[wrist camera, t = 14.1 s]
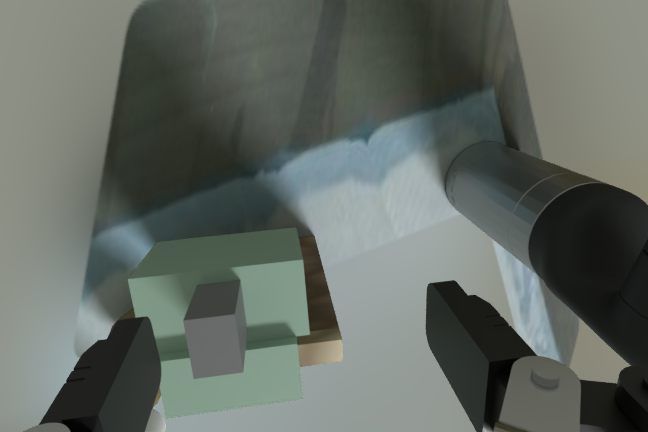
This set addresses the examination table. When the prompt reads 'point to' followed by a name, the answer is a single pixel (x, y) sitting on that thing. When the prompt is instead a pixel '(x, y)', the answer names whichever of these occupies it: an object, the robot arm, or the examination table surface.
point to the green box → (225, 318)
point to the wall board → (318, 312)
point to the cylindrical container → (155, 422)
